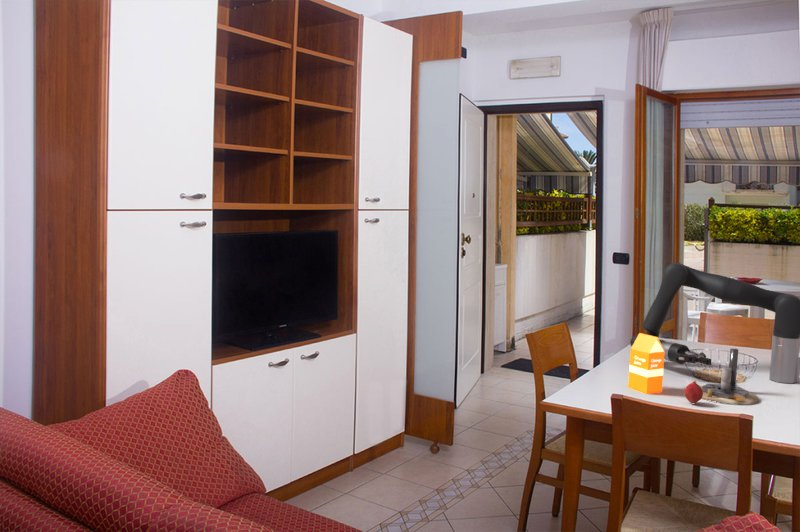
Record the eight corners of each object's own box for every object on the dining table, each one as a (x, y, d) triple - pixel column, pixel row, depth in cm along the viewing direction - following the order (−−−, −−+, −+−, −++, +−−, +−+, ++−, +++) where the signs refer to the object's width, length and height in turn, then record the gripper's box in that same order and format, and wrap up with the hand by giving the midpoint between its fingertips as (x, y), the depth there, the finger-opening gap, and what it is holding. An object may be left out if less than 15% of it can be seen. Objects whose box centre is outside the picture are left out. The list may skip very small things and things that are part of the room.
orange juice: (646, 394, 251) (649, 338, 249) (627, 387, 259) (631, 333, 257) (662, 391, 255) (666, 336, 253) (643, 385, 263) (646, 331, 261)
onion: (680, 401, 244) (681, 378, 243) (696, 401, 244) (698, 378, 243) (688, 406, 238) (690, 382, 237) (705, 406, 238) (707, 382, 237)
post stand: (736, 387, 263) (738, 361, 262) (771, 404, 242) (773, 376, 241) (681, 387, 261) (683, 360, 260) (712, 405, 240) (714, 375, 239)
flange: (733, 386, 260) (736, 348, 258) (763, 400, 242) (766, 359, 241) (694, 386, 258) (697, 347, 257) (721, 400, 241) (724, 359, 239)
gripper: (662, 343, 278) (697, 353, 263) (686, 341, 284) (723, 351, 268) (660, 362, 279) (696, 373, 263) (685, 360, 285) (722, 370, 269)
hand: (710, 362), depth 266 cm, fingers closed
